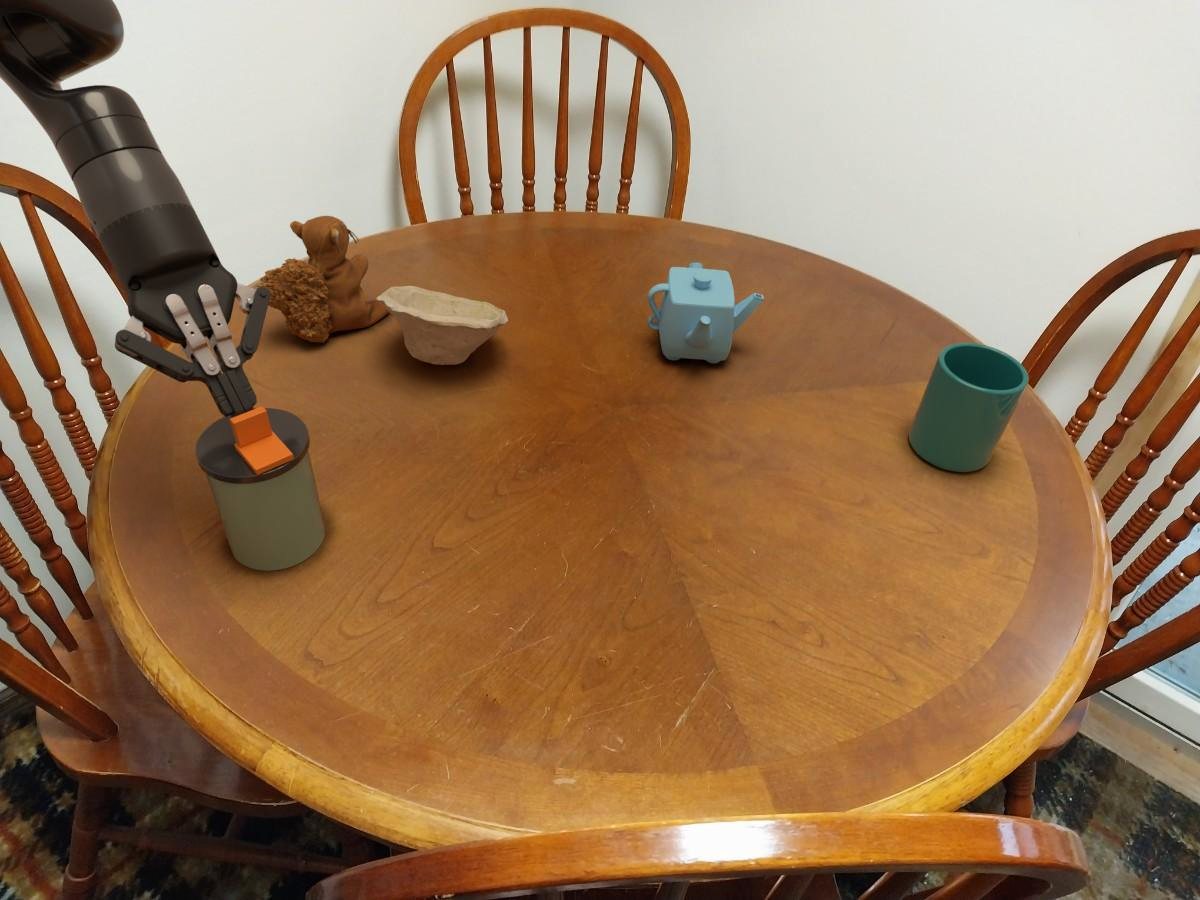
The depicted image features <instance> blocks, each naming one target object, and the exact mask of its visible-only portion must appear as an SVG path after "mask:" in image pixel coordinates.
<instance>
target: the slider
mask: <svg viewBox="0 0 1200 900" xmlns="http://www.w3.org/2000/svg"><path fill="white" fill-rule="evenodd" d="M255 408H256V409H254V410H251V411H249V412H246V413H243V414H241V415H238V416H236V417H233V418H231V419H230V422H231V426H232V429H233V433H234V436H235V440H236V444H234V445H235V449H236V450H237V452H238V453H239V454H240V455H241V456H242V458H243V459H244V460H245V461H246V462H247V464H248V465H249V466H250V467H251V468H252V470H253V471H254V472H255V473H256V474H257V475H259V474H261V473H263V472H266V471H268V470H270V469H272V468H275V467H277V466H279V465H282V464H284V463H286V462H289V461H291V460H293V459H294V457H293V454H292V452H291V451H290V450H289V449H288V448H287V447H286V446H285V445H284V444H283V442H282V441H281V440H280V439H279V438H278V437H277V436H276V435H275V433H274V432H273V431H272V430H271V426H270V422H269V418H268V414H267V411H266V409H265V408H266V407H264V406H263V405H262V406H259V407H255Z"/></svg>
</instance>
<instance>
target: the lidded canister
mask: <svg viewBox="0 0 1200 900" xmlns="http://www.w3.org/2000/svg"><path fill="white" fill-rule="evenodd" d="M253 408H254V409H256V408H257V407H253ZM264 408H265V409H266V411H267V414H268V418H269V422H270V426H271V430H272V431H273V432H274V433H275V435H276V436H277V437H278V438H279V439H280V440H281V441H282V442H283V444H284V445H285V446H286V447H287V448H288V449H289V450H290V451H291V452H292V454H293V457H294V459H293V460H291V461H289V462H286V463H284V464H282V465H279V466H277V467H275V468H272V469H270V470H268V471H266V472H263V473H261V474H259V475H257V474H256V473H255V472H254V471H253V470H252V468H251V467H250V466H249V465H248V464H247V462H246V461H245V460H244V459H243V458H242V456H241V455H240V454H239V453H238V452H237V450H236V449H235V445H234V444H236V440H235V436H234V433H233V429H232V426H231V422H230V419H231V418H232V417H231V415H230V416H227V417H225V416H223V417H221V418H219V419H217V420H215V421H213V423H211V424H210V425H208V426H207V427H206V428H205V429H204V430H203V431H202V433H201V434H200V435H199V436H198V438H197V440H196V443H195V450H194V452H195V453H194V454H195V458H196V462H197V464H198V467H199V468H200V469H201V471H203V472H204V473H205V475H206V479H207V482H208V484H209V485H208V486H209V487H210V491H211V494H212V497H213V500H214V503H215V506H216V508H217V509H216V510H217V512H218V515H219V518H220V521H221V524H222V528H223V530H224V533H225V537H226V539H227V542H228V545H229V548H230V552H231V554H232V556H233V558H235V560H236V561H237V562H238V563H240V564H241V565H242V566H244V567H246V568H249V569H251V570H255V571H261V572H270V571H271V572H272V571H273V572H274V571H281V570H285V569H289V568H291V567H294V566H296V565H298V564H301V563H303V562H304V561H306V560H307V559H308V558H310V557H312V556H313V555H314V554H315V553H316V552H317V551H318V550H319V548H320V547H321V545H322V543H323V541H324V538H325V535H326V525H325V522H324V517H323V512H322V507H321V502H320V498H319V494H318V489H317V484H316V480H315V474H314V470H313V465H312V461H311V457H310V451H309V448H310V443H311V441H310V440H311V439H310V435H309V434H310V433H309V429H308V427H307V425H306V423H305V422H304V420H302V419H301V418H300V417H299V416H297V415H296V414H294V413H293V412H290V411H287V410H283V409H280V408H273V407H264Z"/></svg>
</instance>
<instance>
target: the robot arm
mask: <svg viewBox="0 0 1200 900" xmlns="http://www.w3.org/2000/svg"><path fill="white" fill-rule="evenodd" d="M124 39H125V28H124V22H123V18H122V16H121V13H120V10H119V9H118V7H117V5H116V4H115V2H114V1H113V0H0V79H1V80H2V81H3V82H4V83H5V85H6V86H7V87H8V88H9V89H10V90H11V91H12V92H13V94H15V95H16V97H18V99H19V100H20V101H21V103H22V104H23V105H24V106H25V107H26V108H27V110H28V111H29V112H30V113H31V115H32V116H33V118H35V120H36V121H37V123H38V124H39V125H40V126H41V128H42V129H43V130H44V132H45V133H46V135H47V136H48V137H49V139H50V141H51V143H52V144H53V146H54V148H55V150H56V153H57V154H58V156H59V158H60V160H61V161H62V164H63V166H64V168H65V170H66V171H67V173H68V175H69V177H70V180H71V181H72V183H73V185H74V188H75V190H76V193H77V195H78V197H79V198H78V199H79V202H80V204H81V207H82V209H83V212H84V214H85V216H86V218H87V220H88V222H89V225H90V226H89V227H90V229H91V231H92V233H93V234H94V236H95V237H96V238H97V239H98V241H99V243H100V246H101V247H102V249H103V252H104V253H105V255H106V257H107V259H108V261H109V262H110V264H111V266H112V269H113V270H114V272H115V275H116V277H117V278H118V280H119V282H120V284H121V286H122V288H123V290H124V292H125V294H126V296H127V301H128V302H127V303H128V306H127V312H128V315H129V317H130V318H129V319H128V321H127V322H126V324H125V326H123V329H120V330H118V331H117V332H116V333H115V337H114V348H115V350H116V351H117V352H119V353H121V354H123V355H125V356H126V357H129V358H130V359H133V360H134V361H137V362H139V363H141V364H142V365H145V366H147V367H149V368H151V369H153V370H155V371H157V372H159V373H161V374H163V375H165V376H166V377H169V378H170V379H173V380H175V381H177V382H179V383H187V382H201V383H203V384H204V385H205V386H206V388H207V390H208V392H209V393H210V396H211V397H212V399H213V402H214V403H215V405H216V406H217V409H218V411H219V413H220V414H221V415H222V416H223V417H227V416H230V415H231V417H232V418H233V417H236V416H238V415H241V414H243V413H246V412H249V411H251V410H254V408H255V407H254V406H255V405H257V403H258V401H257V394H256V392H255V390H254V389H253V387H252V384H251V383H250V381H249V379H248V376H247V375H246V372H245V371H244V369H243V365H244V364H245V363H246V362H247V361H250V360H251V359H252V358H253V357H254V354H255V353H256V352H257V351H258V349H259V344H260V341H261V336H262V332H263V328H264V323H265V320H266V316H267V312H268V309H269V305H268V304H269V300H270V296H271V293H270V291H269V290H268V289H267V288H265V287H257V288H254V287H250V286H247V285H243V284H241V283H238V281H237V279H236V277H235V276H234V274H233V273H231V272H230V271H229V270H228V269H226V267H224V265H223V264H222V262H221V260H220V258H219V256H218V254H217V251H216V250H215V248H214V246H213V244H212V242H211V240H210V238H209V236H208V234H207V232H206V230H205V228H204V227H203V224H202V222H201V220H200V218H199V216H198V214H197V212H196V210H195V208H194V206H193V204H192V201H190V200H191V199H190V198H189V196H188V194H187V192H186V191H185V188H184V187H183V185H182V183H181V181H180V179H179V177H178V176H177V174H176V172H175V171H174V170H173V168H172V167H171V165H170V164H169V162H168V161H167V159H166V158H165V156H164V154H163V151H162V150H161V148H160V146H159V144H158V142H157V140H156V138H155V136H154V134H153V131H152V130H151V128H150V126H149V123H148V121H147V120H146V118H145V116H144V113H143V112H142V110H141V108H140V107H139V105H138V103H137V101H135V99H134V98H133V97H132V96H131V95H130V94H129V92H127V91H125V90H123V89H122V88H119V87H117V86H113V85H106V84H100V85H99V84H93V85H86V86H79V87H74V88H69V89H63V87H62V84H61V83H62V82H64V81H65V80H68V79H71V78H72V77H74V76H76V75H78V74H80V73H83V72H85V71H87V70H89V69H91V68H93V67H95V66H97V65H99V64H101V63H104V62H105V61H107V60H109V59H111V58H112V57H114V56H115V55H116V54H117V53H118V52H119V51H120V50H121V48H122V46H123V43H124ZM236 299H237V300H238V302H239V310H240V311H241V312H242V313H243V314H245V315H246V317H245V322H244V326H243V329H242V333H241V336H240V341H239V345H237V346H235V343H234V341H233V336H232V333H231V330H230V327H229V323H230V321H231V319H232V315H233V310H234V305H235V301H236ZM144 328H145V329H147V330H149V331H151V332H153V333H154V334H156V335H158V336H160V337H162V338H163V339H165V340H167V341H168V342H171V343H173V344H177V345H179V347H180V348H181V350H182V352H183V353H184V355H185V357H186V358H187V359H188V360H189V361H188V360H187V359H185V358H183V357H181V356H179V355H177V354H175V353H174V352H171V351H169V350H167V349H165V348H164V347H162V346H159V345H158V344H156V343H153V342H152V335H151V334H150V333H149V332H148V331H146V330H145V329H144Z"/></svg>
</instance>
